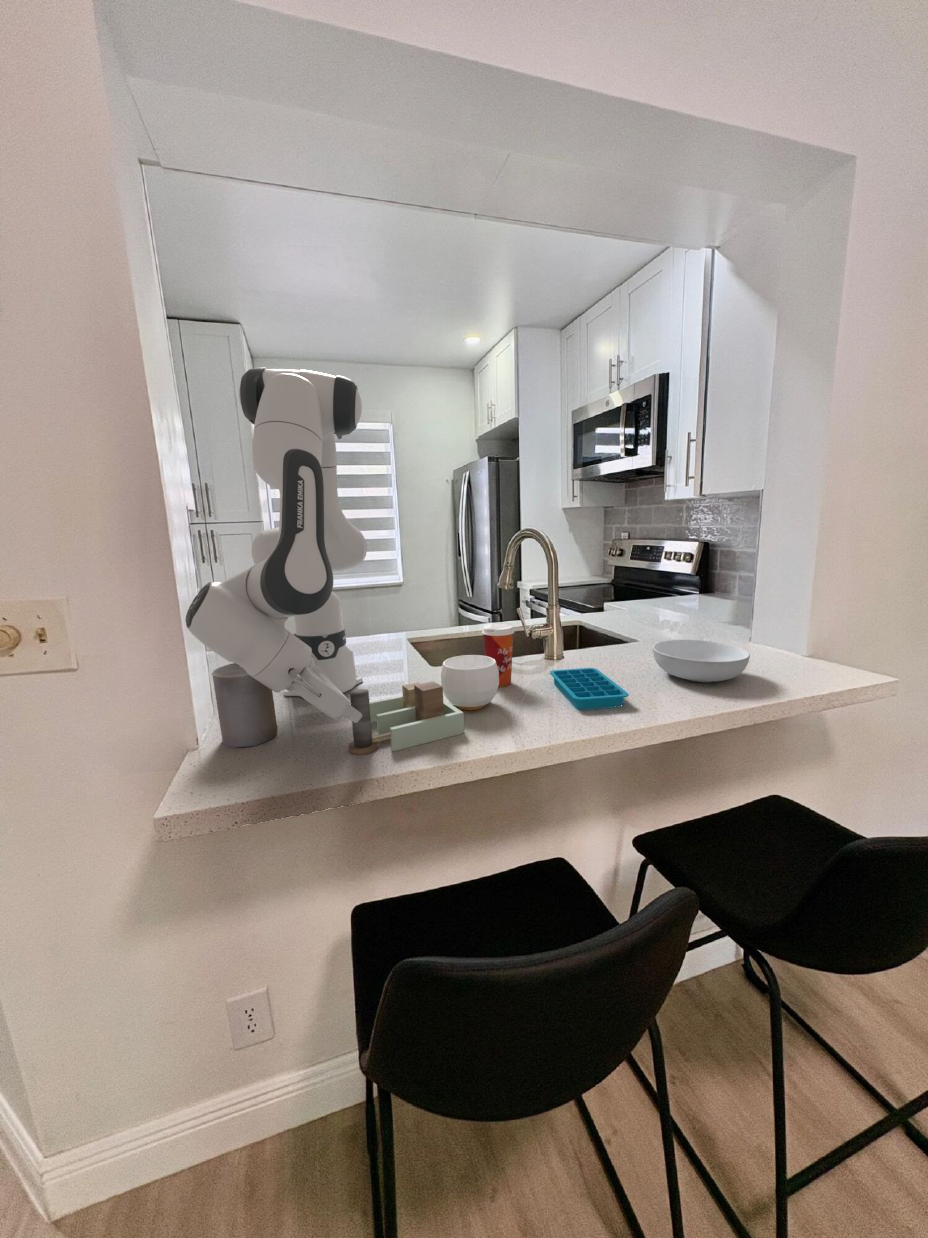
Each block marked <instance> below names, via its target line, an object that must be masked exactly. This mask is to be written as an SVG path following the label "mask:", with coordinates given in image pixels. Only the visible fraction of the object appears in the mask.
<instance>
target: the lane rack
mask: <svg viewBox="0 0 928 1238" xmlns="http://www.w3.org/2000/svg"><path fill="white" fill-rule="evenodd" d="M369 703H370V716H371V724H373V723H376V729H377V735H381V734H385V733H389V732H390V749H391V751H392V752H397V751H400V750H404V749H407V748H408V749H409V748H412V747H415V746H419V745H423V744H426V743H430V742H434V741H439V740H442V739H447V738H450V737H454V736H457V735H462V734H465V719H464V718H465V717H464V716H465V715H464V712H463V711H462V710H461V709H460V708H457V707H456V706H455V705H453V704H452V703H451V702H449V701H447V700H445V699H444V698H443V704H444V715H441V716H437V717H433V718H429V719H425V720H420V721H416V710H415V706H413V707H408V708H404V707H403V694H401V695H397V696H392V697H386V698H384V699H377V700H373V701H369Z"/></svg>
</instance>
